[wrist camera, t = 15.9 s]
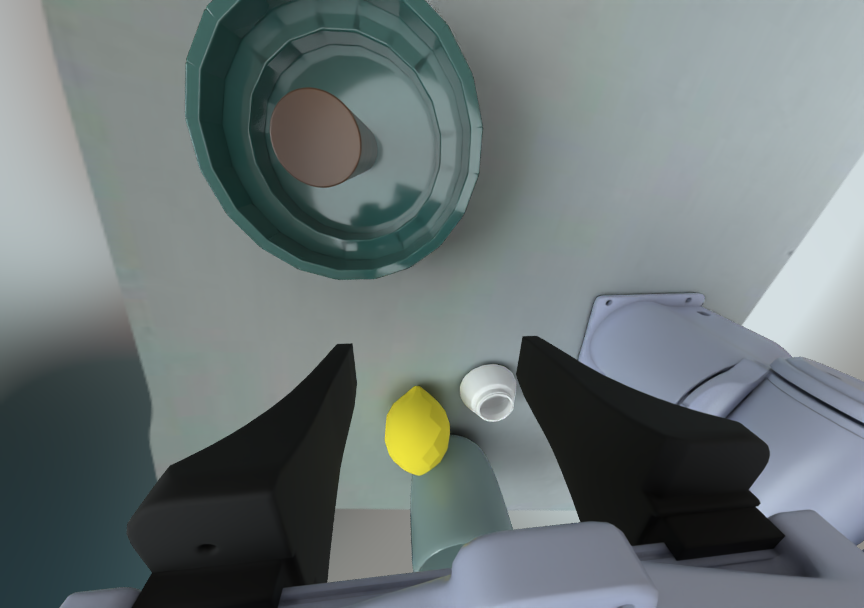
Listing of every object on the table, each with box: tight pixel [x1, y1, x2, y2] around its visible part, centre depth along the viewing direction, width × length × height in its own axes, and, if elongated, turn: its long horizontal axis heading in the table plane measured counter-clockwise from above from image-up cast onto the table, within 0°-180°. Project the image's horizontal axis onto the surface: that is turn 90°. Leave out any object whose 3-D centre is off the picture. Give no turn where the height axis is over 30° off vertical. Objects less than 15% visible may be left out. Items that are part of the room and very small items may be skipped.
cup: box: [410, 435, 513, 572], centre depth 26 cm, size 8×8×10 cm
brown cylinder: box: [270, 87, 377, 188], centre depth 14 cm, size 3×3×9 cm
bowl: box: [185, 0, 483, 280], centre depth 16 cm, size 13×13×4 cm
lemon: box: [385, 386, 450, 476], centre depth 25 cm, size 7×5×5 cm
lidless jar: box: [460, 364, 517, 422], centre depth 26 cm, size 5×3×5 cm
